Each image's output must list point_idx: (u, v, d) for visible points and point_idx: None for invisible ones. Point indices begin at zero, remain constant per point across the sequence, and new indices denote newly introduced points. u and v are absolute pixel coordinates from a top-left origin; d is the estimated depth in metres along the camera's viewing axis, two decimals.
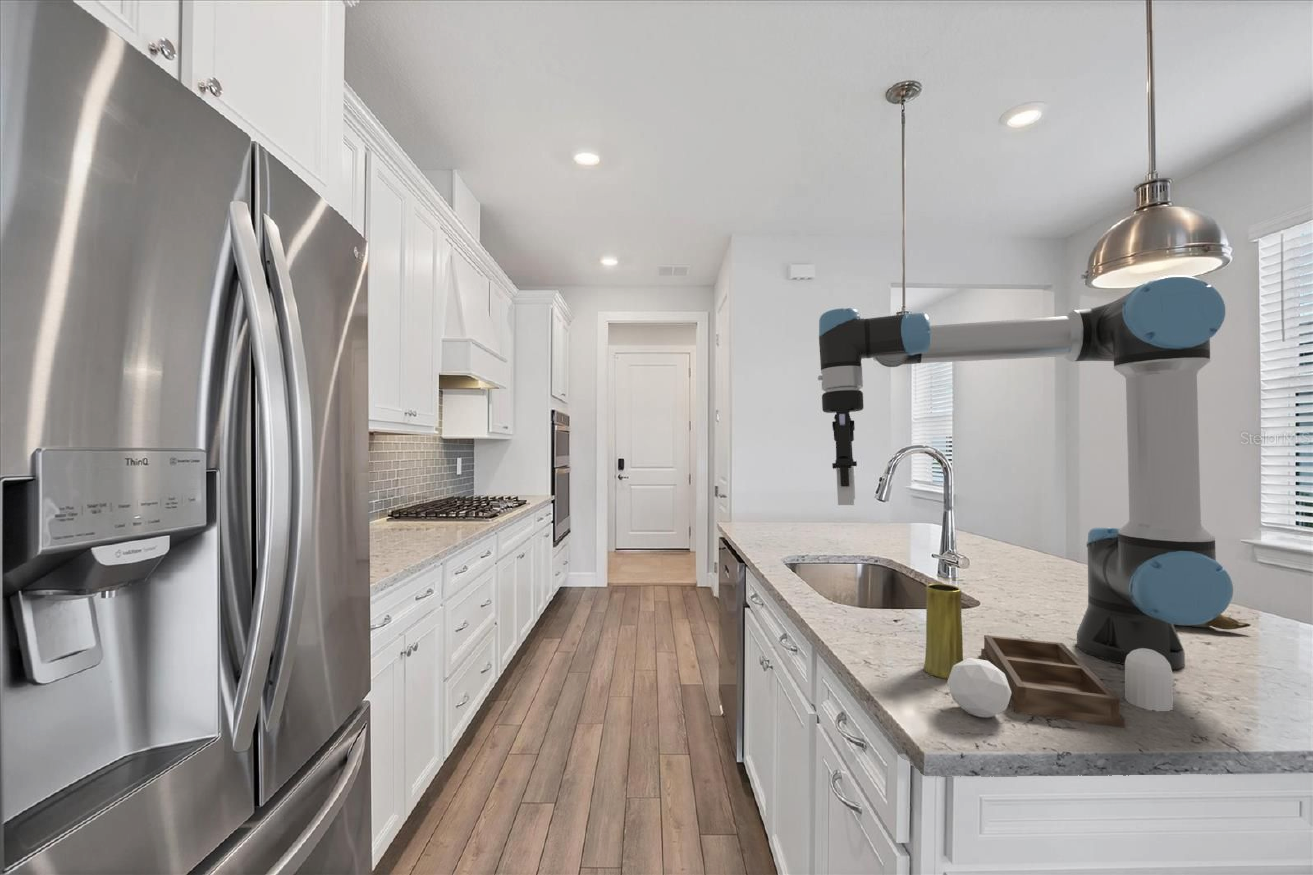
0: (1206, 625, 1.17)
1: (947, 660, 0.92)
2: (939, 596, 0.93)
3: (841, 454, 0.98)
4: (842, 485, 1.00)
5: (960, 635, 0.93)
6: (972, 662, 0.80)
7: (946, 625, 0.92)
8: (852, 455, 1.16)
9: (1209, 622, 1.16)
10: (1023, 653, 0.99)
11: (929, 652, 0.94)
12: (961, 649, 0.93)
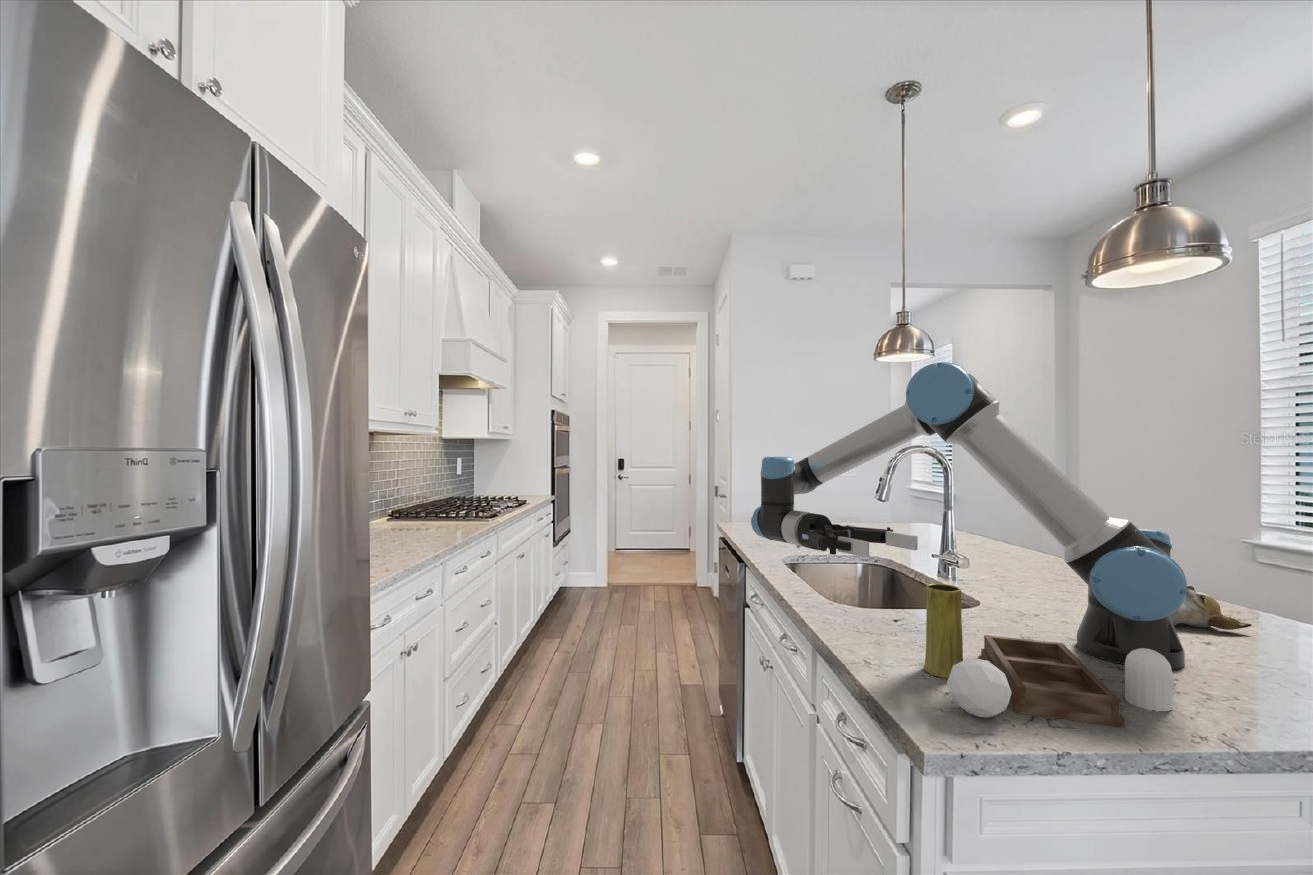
0: (1207, 625, 1.17)
1: (947, 660, 0.92)
2: (939, 596, 0.93)
3: (818, 544, 1.06)
4: (846, 549, 1.02)
5: (960, 635, 0.93)
6: (972, 662, 0.80)
7: (946, 625, 0.92)
8: (886, 529, 1.15)
9: (1210, 622, 1.16)
10: (1023, 653, 0.99)
11: (929, 652, 0.94)
12: (961, 649, 0.93)
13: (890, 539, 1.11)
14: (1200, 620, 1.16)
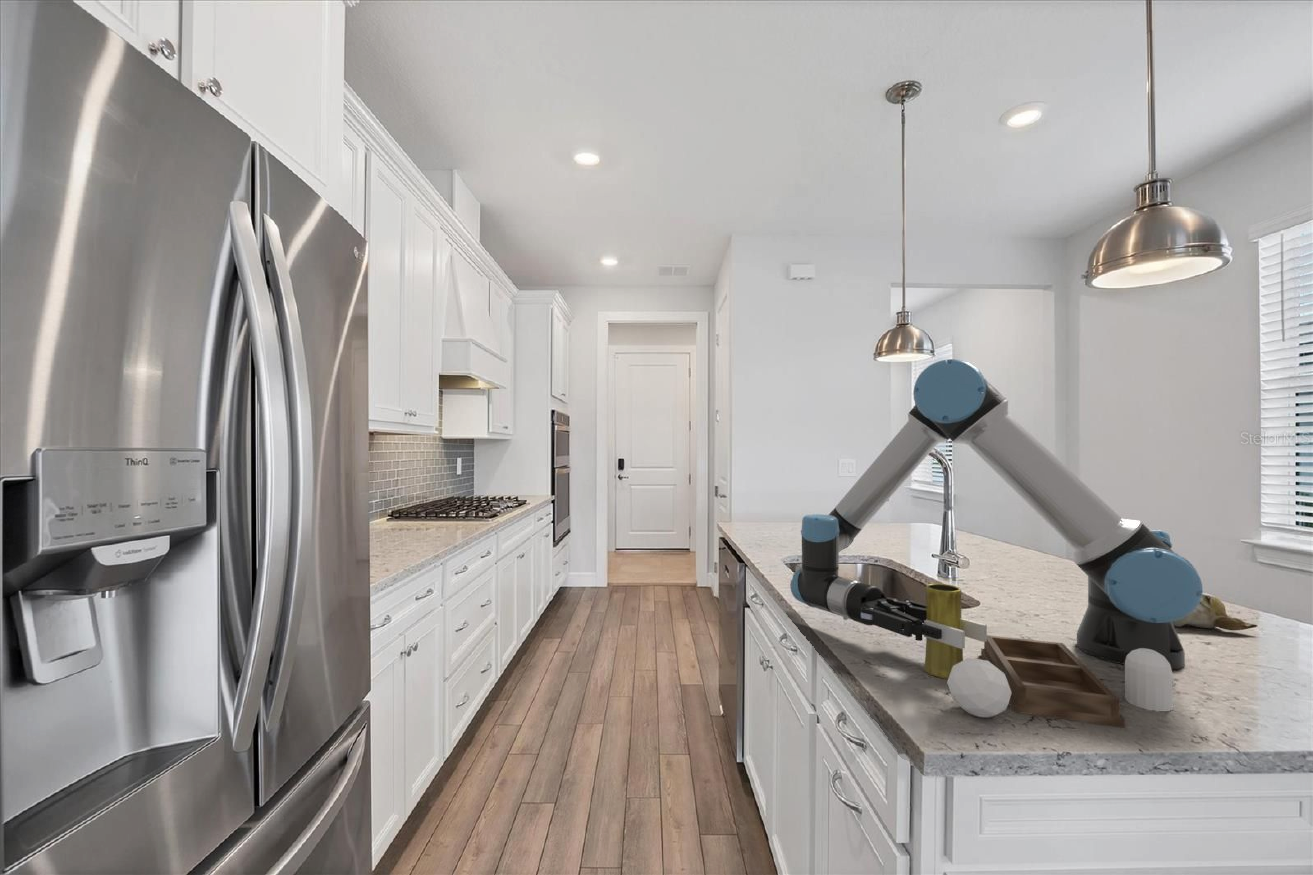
0: (1213, 626, 1.16)
1: (947, 660, 0.92)
2: (939, 596, 0.93)
3: (900, 628, 0.94)
4: (936, 637, 0.91)
5: None
6: (972, 662, 0.80)
7: (946, 625, 0.92)
8: None
9: (1216, 623, 1.15)
10: (1023, 653, 0.99)
11: (929, 652, 0.94)
12: (961, 649, 0.93)
13: None
14: (1205, 621, 1.16)
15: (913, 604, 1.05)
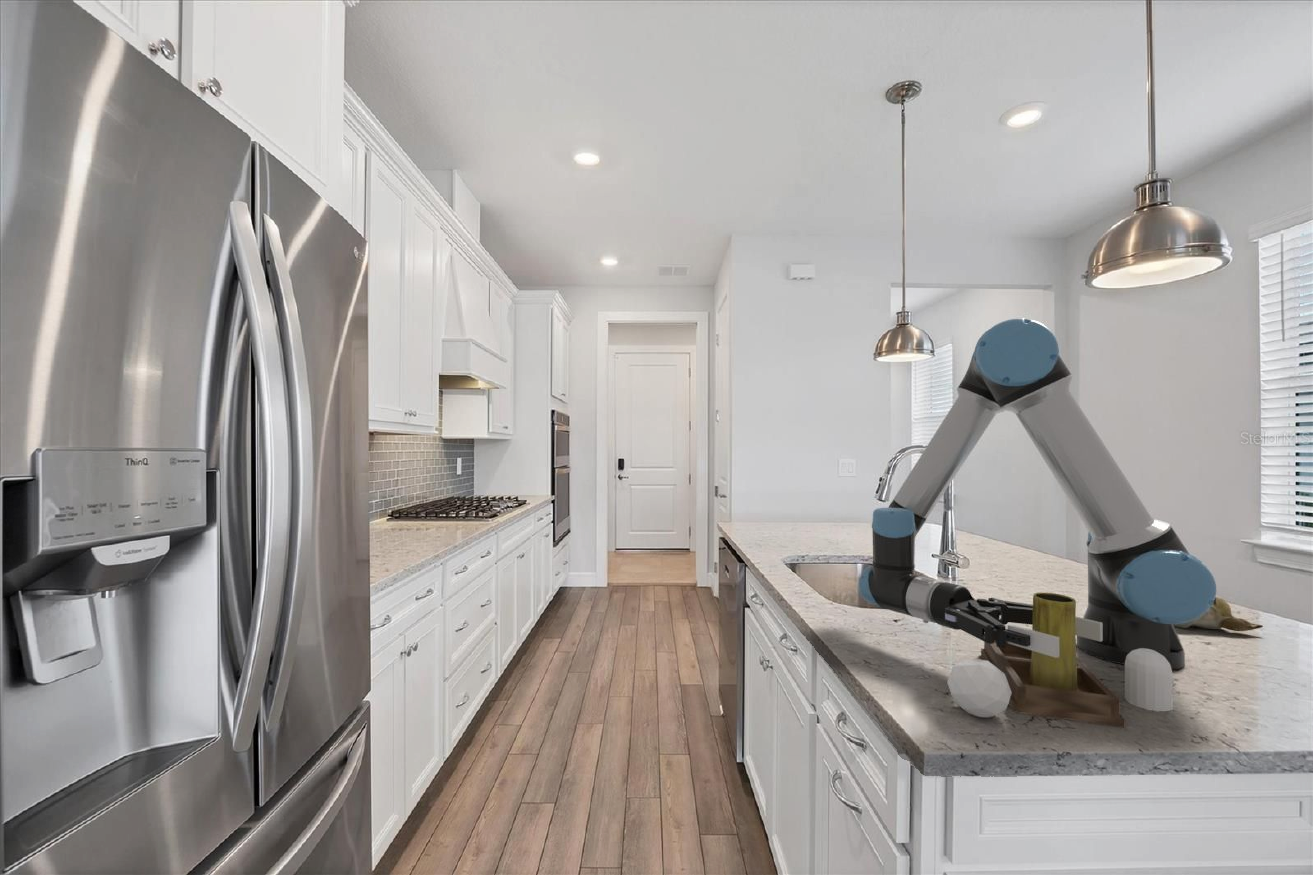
0: (1218, 627, 1.15)
1: (1060, 679, 0.81)
2: (1051, 607, 0.82)
3: (980, 633, 0.84)
4: (1025, 644, 0.80)
5: (1074, 651, 0.82)
6: (972, 662, 0.80)
7: (1059, 640, 0.81)
8: None
9: (1222, 624, 1.14)
10: (1023, 653, 0.99)
11: (1037, 670, 0.83)
12: (1075, 667, 0.82)
13: None
14: (1212, 622, 1.15)
15: (1005, 604, 0.96)
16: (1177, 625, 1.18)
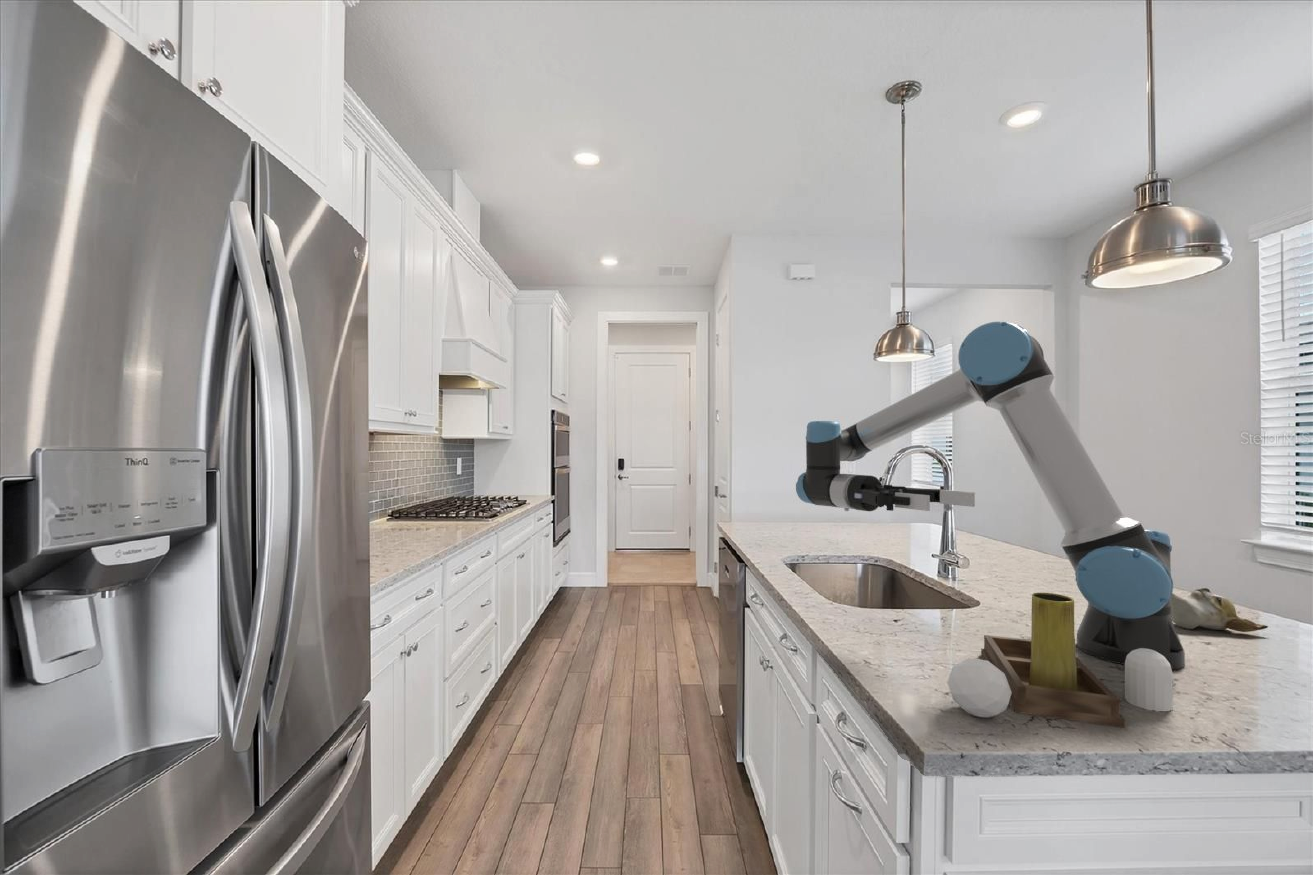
0: (1224, 628, 1.15)
1: (1060, 679, 0.81)
2: (1050, 607, 0.82)
3: (874, 500, 1.05)
4: (905, 503, 1.01)
5: (1074, 651, 0.82)
6: (972, 662, 0.80)
7: (1058, 640, 0.82)
8: (939, 489, 1.15)
9: (1228, 625, 1.14)
10: (1023, 653, 0.99)
11: (1037, 670, 0.83)
12: (1075, 667, 0.82)
13: (945, 497, 1.10)
14: (1217, 623, 1.15)
15: None
16: (1183, 626, 1.17)
